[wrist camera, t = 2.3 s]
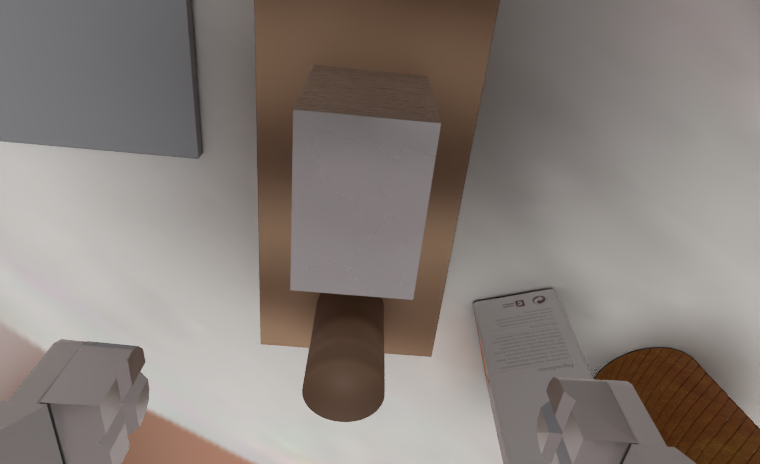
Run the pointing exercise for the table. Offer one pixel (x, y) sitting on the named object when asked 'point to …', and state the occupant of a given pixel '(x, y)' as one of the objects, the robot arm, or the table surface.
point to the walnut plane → (458, 120)
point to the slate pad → (100, 75)
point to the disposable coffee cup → (688, 406)
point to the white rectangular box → (361, 181)
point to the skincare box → (524, 365)
